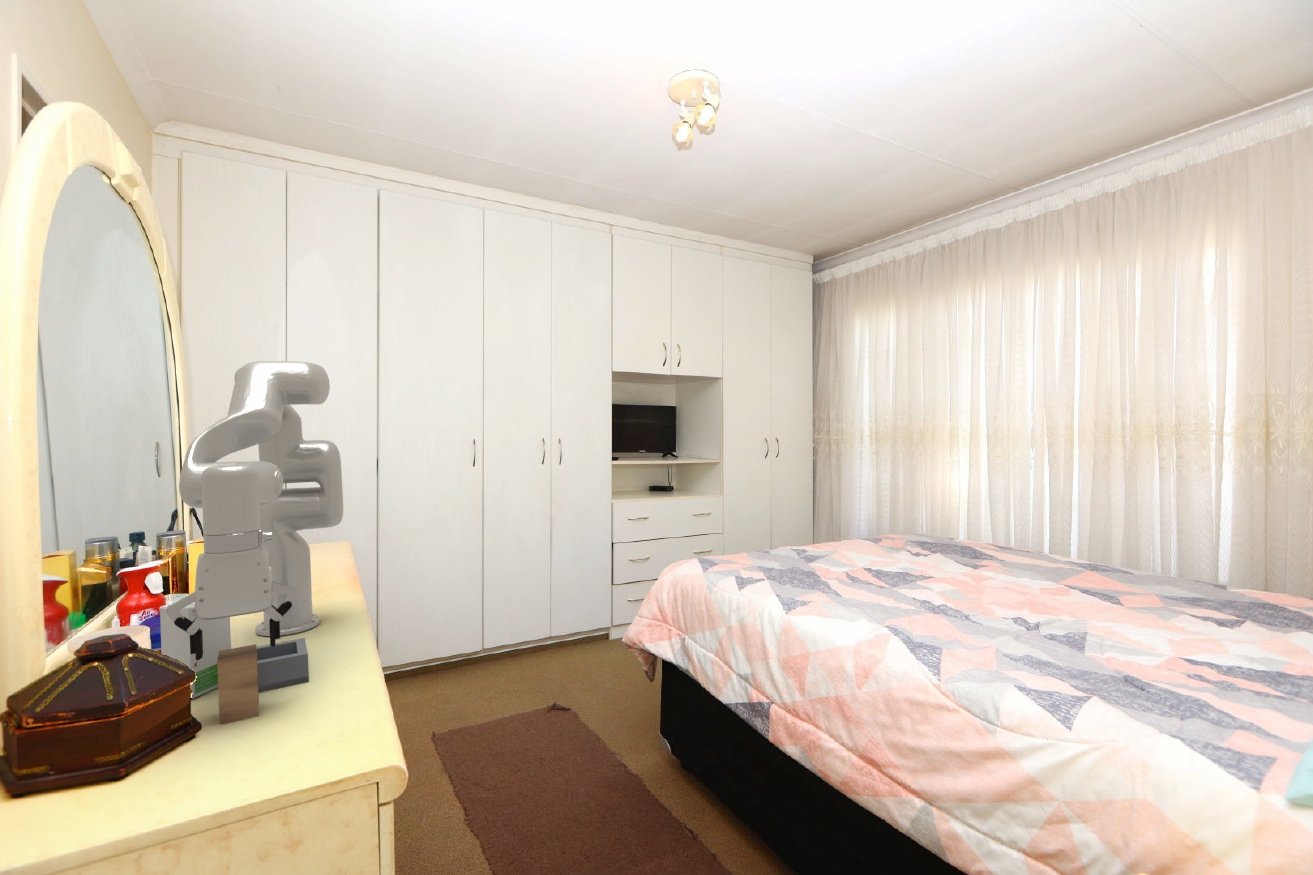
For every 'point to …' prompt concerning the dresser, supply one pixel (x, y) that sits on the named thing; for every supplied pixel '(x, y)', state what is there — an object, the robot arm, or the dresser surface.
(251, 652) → the oak block
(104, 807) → the dresser surface
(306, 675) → the grey well
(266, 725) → the dresser surface
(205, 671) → the skincare box
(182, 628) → the robot arm
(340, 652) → the dresser surface
